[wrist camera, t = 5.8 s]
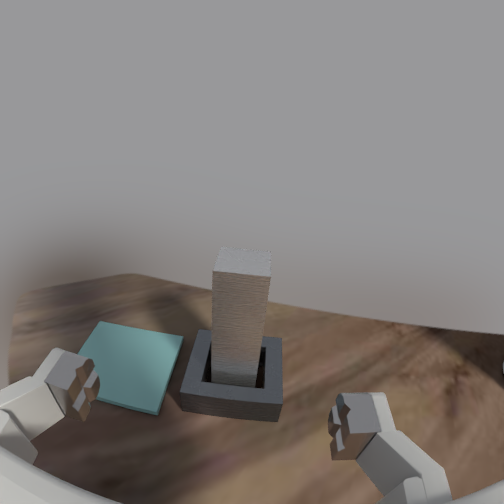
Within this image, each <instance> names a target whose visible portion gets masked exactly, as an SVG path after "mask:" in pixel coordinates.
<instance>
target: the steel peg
mask: <svg viewBox="0 0 504 504" xmlns="http://www.w3.org/2000/svg"><path fill="white" fill-rule="evenodd" d="M270 278H271V252H268V251H257V250H248V249H239V248H229V247H221V249H220V252H219V255H218V257H217V260H216V263H215V266H214V268H213V280H212V340H211V378H212V383H215V384H223V385H231V386H240V387H250V388H255V384H256V377H257V370H258V364H259V357H260V350H261V343H262V336H263V329H264V322H265V315H266V308H267V300H268V293H269V286H270Z"/></svg>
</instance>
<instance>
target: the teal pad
mask: <svg viewBox="0 0 504 504" xmlns="http://www.w3.org/2000/svg"><path fill="white" fill-rule="evenodd" d="M183 340H184V339H183V336H178V335H172V334H166V333H160V332H154V331H148V330H143V329H137V328H132V327H127V326H122V325H117V324H112V323H107V322H103V321H100V322H99V323H98V324H97V326H96V327H95V329H94V330H93V332H92V333H91V335H90V336H89V337H88V339H87V340H86V342H85V343H84V345H83V346H82V348H81V349H80V351H79V352H78V354H77V355H80V356H84V357H87V358H90V359H93V362H94V365H95V367H94V369H93V370H94V371H95V372H96V373H97V374H98V376H99V379H100V389H99V393H98V396H97V398H96V399H97V400H100V401H103V402H107V403H110V404H114V405H117V406H121V407H125V408H129V409H132V410H136V411H141V412H145V413H149V414H153V415H158V413H159V410H160V407H161V404H162V401H163V398H164V395H165V392H166V389H167V386H168V383H169V381H170V378H171V375H172V372H173V369H174V366H175V363H176V360H177V357H178V354H179V352H180V349H181V346H182V343H183Z"/></svg>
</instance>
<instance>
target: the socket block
mask: <svg viewBox="0 0 504 504" xmlns="http://www.w3.org/2000/svg"><path fill="white" fill-rule="evenodd" d="M211 340H212V331H210V330H202V329H199V330H198V333H197V337H196V340H195V343H194V346H193V349H192V353H191V356H190V359H189V363H188V366H187V369H186V372H185V376H184V379H183V382H182V386H181V389H180V398H181V405H182V411H187V412H192V413H199V414H205V415H212V416H219V417H227V418H236V419H246V420H257V421H270V422H278V419H279V415H280V412H281V408H282V405H283V389H282V338H275V337H264V336H262V343H261V350H260V357H259V364H258V366H261V367H263V376H262V389H261V388H250V387H240V386H231V385H223V384H215V383H208V382H206V381H207V377H208V372H209V368H210V364H211Z"/></svg>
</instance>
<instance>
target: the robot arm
mask: <svg viewBox="0 0 504 504" xmlns="http://www.w3.org/2000/svg"><path fill="white" fill-rule="evenodd" d="M94 367H95V365H94V362H93V359H90V358H87V357H84V356H80V355H77V354H74V353H71V352H69V351H66V350H63V349H60V348H57V347H56V348H54V349H52V351H51V352H50V353H49V355H48V356H47V357H46V359H45V360H44V361H43V363H42V364H41V365H40V367H39V368H38V370H37V371H36V372H35V374H34V375H33V377H31V376H28V377H26V378H24V379H22V380H20V381H18V382H16V383H13V384H11V385H9V386H7V387H5V388H3V389H1V390H0V504H122V503H119V502H116V501H113V500H110V499H107V498H105V497H102V496H99V495H97V494H94V493H91V492H89V491H86V490H84V489H82V488H79V487H77V486H74V485H72V484H70V483H68V482H65V481H63V480H61V479H59V478H57V477H55V476H53V475H51V474H49V473H47V472H45V471H43V470H41V469H39V468H37V467H35V466H34V465H33V463H34V461H35V459H36V457H37V455H38V451H37V449H36V448H35V447H34V446H33V445H32V443H31V442H30V441H31V440H32V439H34V438H35V437H37V436H38V435H39V434H41V433H42V432H44V431H45V430H46V429H48V428H49V427H51V426H52V425H54V424H55V423H56V422H58V421H59V420H61V419H62V418H63V417H65V416H68V417H70V418H73V419H76V420H79V421H82V422H85V420H86V418H87V416H88V414H89V412H90V410H91V406H90V402H92V401H93V400H95V399H96V398H97V396H98V393H99V389H100V379H99V376H98V374H97V373H96V372H95V371H94V370H93V369H94ZM503 372H504V362H503ZM64 415H65V416H64ZM328 432H329V434H330V435H331V436H332V437H333V440H332V442H331V443H330V449H331V457H332V460H356V462H357V463H358V464H359V466H360V467H361V468H362V469H363V471H364V472H365V473H366V474H367V476H368V477H369V478H370V479H371V481H372V482H373V483H374V484H375V486H376V487H377V488H378V489H379V491H380V492H381V493H382V494H383V495H384V497H383V498H382V499H380V500H379V501H378V502H376V503H375V504H504V479H503V480H501V481H499V482H497V483H495V484H493V485H490V486H488V487H486V488H484V489H481V490H479V491H476V492H474V493H472V494H469V495H466V496H464V497H461V498H459V499H456V500H452V496H451V492H450V488H449V485H448V481H447V478H446V474H445V471H444V469H443V468H442V467H441V466H440V465H439V464H437V463H436V462H435V461H434V460H433V459H432V458H431V457H429V456H428V455H427V454H426V453H425V452H424V451H423V450H421V449H420V448H419V447H418V446H417V445H416V444H415V443H414V442H412V441H411V440H410V439H409V438H408V437H407V436H406V435H405V434H403V433H402V432H401V431H396V428H395V425H394V422H393V418H392V415H391V412H390V408H389V405H388V402H387V399H386V396H385V394H384V393H383V392H377V393H368V392H367V393H340V394H339V395H338V396H337V398H336V406H334V407H333V408H332V409H331V411H330V414H329V419H328Z"/></svg>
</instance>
